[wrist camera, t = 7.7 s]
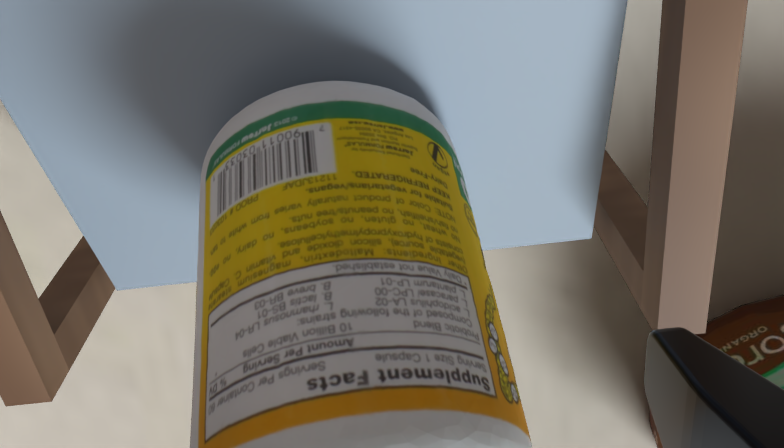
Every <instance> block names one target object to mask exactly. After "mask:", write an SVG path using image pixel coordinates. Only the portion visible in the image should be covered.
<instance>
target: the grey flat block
mask: <svg viewBox="0 0 784 448" xmlns="http://www.w3.org/2000/svg"><path fill="white" fill-rule="evenodd" d="M626 7H627V0H0V99H1V101H2V103H3V104H4V106H5V108H6V109H7V111H8V113H9V114H10V116H11V118H12V119H13V121H14V122H15V124H16V126H17V127H18V129H19V131H20V132H21V134H22V136H23V137H24V139H25V140H26V142H27V144H28V145H29V147H30V149H31V150H32V152H33V154H34V155H35V157H36V158H37V160H38V162H39V163H40V165H41V167H42V168H43V170H44V172H45V173H46V175H47V177H48V178H49V180H50V181H51V183H52V185H53V186H54V188H55V190H56V191H57V193H58V195H59V196H60V198H61V199H62V201H63V203H64V204H65V206H66V208H67V209H68V211H69V213H70V214H71V216H72V217H73V219H74V221H75V222H76V224H77V226H78V227H79V229H80V231H81V232H82V234H83V235H84V237H85V239H86V240H87V242H88V244H89V245H90V247H91V249H92V250H93V252H94V254H95V255H96V257H97V258H98V260H99V262H100V263H101V265H102V267H103V268H104V270H105V272H106V273H107V275H108V276H109V278H110V280H111V281H112V283H113V285H114V286H115V288H116V290H126V289H135V288H144V287H153V286H162V285H172V284H181V283H190V282H197V265H198V234H199V203H200V181H201V172H202V166H203V162H204V159H205V156H206V154H207V151H208V149H209V147H210V145H211V143H212V141H213V140H214V138H215V137H216V135H217V134H218V133H219V131H220V130H221V129H222V128H223V126H224V125H225V124H226V123H227V122H228V121H229V120H230V119H231V118H232V117H234V116H235V115H236V114H238V113H239V112H240V111H241V110H243V109H244V108H245V107H247V106H248V105H250V104H252V103H253V102H255V101H257V100H259V99H261V98H263V97H265V96H267V95H270V94H272V93H275V92H277V91H280V90H283V89H286V88H290V87H293V86H297V85H302V84H307V83H313V82H321V81H352V82H359V83H366V84H371V85H377V86H381V87H385V88H389V89H391V90H394V91H396V92H399V93H401V94H404V95H406V96H409V97H411V98H414V99H415V100H416V101H418V102H419V103H420V104H422V105H423V106H424V107H426V108H427V109H428V110H429V111H430V112H431V113H433V114H434V115H435V116H436V117H437V118H438V120H439V121H440V122H441V123H442V125H443V126H444V128H445V129H446V131H447V133H448V135H449V136H450V139H451V141H452V144H453V146H454V149H455V152H456V155H457V158H458V160H459V164H460V167H461V170H462V173H463V176H464V181H465V185H466V188H467V192H468V196H469V200H470V204H471V208H472V212H473V216H474V220H475V224H476V228H477V233H478V236H479V238H480V243H481V247H482V250H491V249H501V248H510V247H519V246H528V245H537V244H546V243H555V242H565V241H574V240H583V239H591V238H592V232H593V225H594V218H595V212H596V205H597V199H598V192H599V185H600V179H601V172H602V165H603V159H604V152H605V146H606V139H607V132H608V126H609V119H610V113H611V106H612V99H613V93H614V86H615V80H616V73H617V66H618V60H619V53H620V47H621V40H622V33H623V27H624V20H625V14H626Z"/></svg>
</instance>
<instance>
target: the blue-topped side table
mask: <svg viewBox="0 0 784 448" xmlns="http://www.w3.org/2000/svg"><path fill="white" fill-rule="evenodd" d="M747 4H748V0H663V1H662V15H661V29H660V44H659V58H658V72H657V86H656V100H655V114H654V129H653V143H652V157H651V171H650V185H649V200H648V207H647V206H646V205H645V203H644V202H643V201H642V199H641V198H640V196H639V195H638V194H637V192H636V191H635V190H634V188H633V187H632V186H631V184H630V183H629V181H628V180H627V179H626V177H625V176H624V175H623V173H622V172H621V170H620V169H619V168H618V166H617V165H616V164H615V162H614V161H613V160H612V158H611V157H610V155H609V154H608V153H607V151H606V150H605V152H604V159H603V165H602V172H601V179H600V185H599V192H598V199H597V205H596V212H595V218H594V225H593V226H594V227H595V229H596V231H597V233H598V235H599V236H600V238H601V240H602V242H603V243H604V245H605V247H606V249H607V251H608V252H609V254H610V256H611V258H612V260H613V261H614V263H615V265H616V267H617V268H618V270H619V272H620V274H621V276H622V277H623V279H624V281H625V283H626V284H627V286H628V288H629V290H630V292H631V293H632V295H633V297H634V299H635V300H636V302H637V304H638V306H639V308H640V309H641V311H642V313H643V315H644V316H645V318H646V320H647V322H648V324H649V325H650V327H651V329H652V331H653V330H655V329H665V328H674V327H682V328H685V329H687V330H689V331H690V332H692V333H694V334H702V333H706V325H707V317H708V309H709V302H710V294H711V286H712V278H713V270H714V262H715V255H716V247H717V239H718V231H719V223H720V215H721V208H722V200H723V192H724V184H725V176H726V168H727V160H728V153H729V145H730V137H731V129H732V121H733V113H734V106H735V98H736V90H737V82H738V74H739V66H740V59H741V51H742V43H743V35H744V27H745V19H746V11H747ZM114 290H115V286H114V285H113V283H112V281H111V280H110V278H109V276H108V275H107V273H106V272H105V270H104V268H103V267H102V265H101V263H100V262H99V260H98V258H97V257H96V255H95V254H94V252H93V250H92V249H91V247H90V245H89V244H88V242H87V240H86V239H85V237H84V236H83V237H82V239H81V240H80V241H79V243H78V244H77V246H76V247H75V248H74V250H73V251H72V253H71V254H70V255H69V257H68V258H67V260H66V261H65V262H64V264H63V265H62V267H61V268H60V269H59V271H58V272H57V274H56V275H55V276H54V278H53V279H52V281H51V282H50V283H49V285H48V286H47V288H46V289H45V290H44V292H43V293H42V295H41V296H40V297H39V299H38V297H37V295H36V292H35V290H34V288H33V285H32V283H31V281H30V278H29V276H28V274H27V271H26V269H25V267H24V265H23V262H22V260H21V258H20V255H19V253H18V251H17V248H16V246H15V244H14V241H13V239H12V237H11V234H10V232H9V230H8V228H7V225H6V223H5V221H4V218H3V216H2V214H1V211H0V396H1V398H2V400H3V402H4V404H5V406H13V405H23V404H33V403H42V402H52V400H53V398H54V397H55V395H56V393H57V391H58V389H59V388H60V386H61V384H62V382H63V381H64V379H65V377H66V375H67V373H68V372H69V370H70V368H71V366H72V364H73V363H74V361H75V359H76V357H77V356H78V354H79V352H80V350H81V348H82V347H83V345H84V343H85V341H86V340H87V338H88V336H89V334H90V332H91V331H92V329H93V327H94V325H95V323H96V322H97V320H98V318H99V316H100V315H101V313H102V311H103V309H104V307H105V306H106V304H107V302H108V300H109V299H110V297H111V295H112V293H113V291H114Z"/></svg>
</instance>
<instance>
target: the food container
mask: <svg viewBox="0 0 784 448" xmlns="http://www.w3.org/2000/svg"><path fill="white" fill-rule="evenodd" d="M695 335H697V336H698V337H700V338H702V339H703V340H705V341H707V342H708V343H710V344H711V345H713V346H715V347H716V348H718V349H719V350H721V351H723V352H724V353H726V354H727V355H729V356H731V357H732V358H734V359H736V360H737V361H739V362H740V363H742V364H744V365H745V366H747V367H748V368H750V369H752V370H753V371H755V372H756V373H758V374H760V375H761V376H763V377H765V378H766V379H768V380H769V381H771V382H773V383H774V384H776V385H777V386H779V387H781V388H782V389H784V295H781V296H777V297H773V298H769V299H765V300H761V301H757V302H753V303H749V304H745V305H742V306H740V307H738V308H736V309H734V310H732V311H730V312H728V313H726V314H724V315H722V316H720V317H718V318H716V319H714V320H712V321H710V322H709V323H707V325H706V333H702V334H695ZM649 419H650V424H651V428H652V432H653V435H654V438H655V441H656V444H657V447H658V448H663V446H662V443H661V440H660V437H659V433H658V430H657V427H656V424H655V421H654V418H653V415H652V412H651V409H650V406H649Z"/></svg>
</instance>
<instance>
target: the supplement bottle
mask: <svg viewBox="0 0 784 448" xmlns="http://www.w3.org/2000/svg"><path fill="white" fill-rule="evenodd" d="M190 448H532V444H531V440H530V436H529V431H528V427H527V423H526V420H525V416H524V412H523V408H522V404H521V400H520V396H519V392H518V388H517V384H516V380H515V375H514V371H513V367H512V363H511V359H510V355H509V352H508V347H507V343H506V338H505V334H504V331H503V327H502V324H501V320H500V316H499V312H498V308H497V304H496V300H495V296H494V292H493V289H492V285H491V282H490V279H489V276H488V273H487V270H486V266H485V261H484V256H483V252H482V247H481V243H480V238H479V236H478V233H477V228H476V224H475V220H474V216H473V212H472V208H471V204H470V200H469V196H468V192H467V188H466V185H465V181H464V176H463V173H462V170H461V167H460V164H459V160H458V158H457V155H456V152H455V149H454V146H453V144H452V141H451V139H450V136H449V135H448V133H447V131H446V129H445V128H444V126H443V125H442V123H441V122H440V121H439V120H438V118H437V117H436V116H435V115H434V114H433V113H431V112H430V111H429V110H428V109H427V108H426V107H424V106H423V105H422V104H420V103H419V102H418V101H416V100H415V99H414V98H411V97H409V96H406V95H404V94H401V93H399V92H396V91H394V90H391V89H389V88H385V87H381V86H377V85H371V84H366V83H359V82H352V81H321V82H313V83H307V84H302V85H297V86H293V87H290V88H286V89H283V90H280V91H277V92H275V93H272V94H270V95H267V96H265V97H263V98H261V99H259V100H257V101H255V102H253V103H252V104H250V105H248V106H247V107H245V108H244V109H243V110H241V111H240V112H239V113H238V114H236V115H235V116H234V117H232V118H231V119H230V120H229V121H228V122H227V123H226V124H225V125H224V126H223V128H222V129H221V130H220V131H219V133H218V134H217V135H216V137H215V138H214V140H213V141H212V143H211V145H210V147H209V149H208V151H207V154H206V156H205V159H204V162H203V166H202V172H201V181H200V203H199V234H198V265H197V291H196V325H195V350H194V374H193V397H192V418H191V437H190Z"/></svg>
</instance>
